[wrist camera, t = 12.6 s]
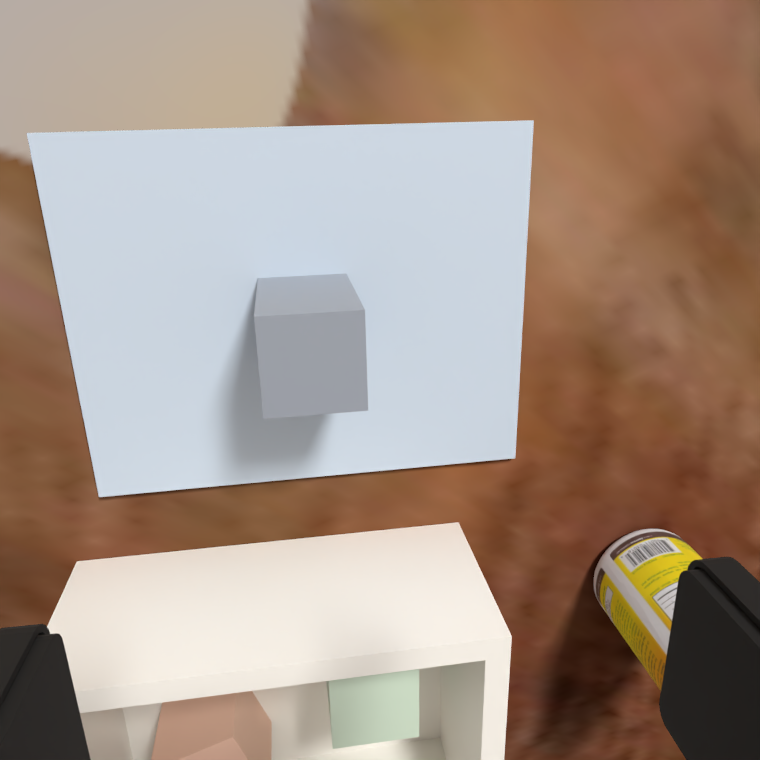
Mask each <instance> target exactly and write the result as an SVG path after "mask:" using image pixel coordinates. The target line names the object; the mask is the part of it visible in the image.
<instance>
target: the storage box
mask: <svg viewBox="0 0 760 760" xmlns="http://www.w3.org/2000/svg"><path fill="white" fill-rule="evenodd" d="M47 628H48V629H49V632H50V634H55V633H58V634H60V635H61V637H62V639H63V643H64V647H65V651H66V655H67V660H68V664H69V668H70V673H71V677H72V681H73V686H74V690H75V694H76V699H77V703H78V707H79V712H80V716H81V720H82V724H83V729H84V733H85V737H86V742H87V746H88V750H89V755H90V759H91V760H151V758H152V752H153V747H154V742H155V737H156V732H157V727H158V722H159V716H160V711H161V706H162V703H163V702H170V701H178V700H185V699H193V698H201V697H208V696H216V695H224V694H231V693H239V692H247V691H252V692H253V693H254V695H255V697H256V698H257V700H258V701H259V703H260V704H261V706H262V708H263V709H264V711H265V712H266V714H267V715H268V717H269V719H270V720H271V722H272V749H271V760H504V753H505V737H506V721H507V704H508V688H509V672H510V656H511V640H512V636H511V634H510V632H509V630H508V628H507V625H506V623H505V621H504V619H503V617H502V615H501V613H500V610H499V608H498V606H497V604H496V602H495V600H494V598H493V595H492V593H491V591H490V589H489V587H488V585H487V583H486V581H485V578H484V576H483V574H482V572H481V570H480V568H479V566H478V563H477V561H476V559H475V557H474V555H473V553H472V551H471V548H470V546H469V544H468V542H467V540H466V538H465V536H464V533H463V531H462V529H461V527H460V525H459V523H458V522H457V523H448V524H438V525H428V526H418V527H409V528H399V529H389V530H379V531H369V532H360V533H350V534H340V535H330V536H321V537H311V538H301V539H291V540H282V541H272V542H262V543H252V544H242V545H233V546H223V547H213V548H203V549H194V550H184V551H174V552H164V553H155V554H145V555H135V556H125V557H115V558H106V559H96V560H86V561H77V562H76V565H75V567H74V569H73V571H72V573H71V576H70V578H69V580H68V582H67V584H66V587H65V589H64V591H63V593H62V595H61V597H60V600H59V602H58V604H57V606H56V608H55V611H54V613H53V615H52V617H51V619H50V622H49V624H48V626H47ZM415 669H419V737H413V738H406V739H399V740H392V741H386V742H379V743H372V744H365V745H358V746H351V747H344V748H337V749H333V746H332V735H331V725H330V714H329V704H328V693H327V683H326V681H331V680H338V679H346V678H354V677H361V676H369V675H377V674H384V673H392V672H400V671H407V670H415Z"/></svg>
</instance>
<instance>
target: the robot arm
mask: <svg viewBox="0 0 760 760" xmlns="http://www.w3.org/2000/svg"><path fill="white" fill-rule="evenodd" d="M659 705H660V712H661V716H662V719H663V722H664V724H665V726H666V728H667V730H668V731H669V733H670V734H671V736H672V738H673V739H674V741H675V742H676V744H677V745H678V747H679V749H680V750H681V752H682V753H683V755H684V756H685V758H686V760H760V582H759V581H758V580H757V579H756V578H754V577H753V576H752V575H751V574H750V573H749V572H748V571H747V570H746V569H745V568H744V567H743V566H742V565H741V564H740V563H739V562H738V561H736V560H735V559H733V558H731V557H720V558H709V559H699V560H694V561H692V562H691V563H690V564H689V566H688V569H687V570H685V571H682V572H681V574H680V576H679V580H678V586H677V592H676V599H675V605H674V612H673V618H672V624H671V631H670V637H669V643H668V650H667V656H666V662H665V669H664V675H663V681H662V688H661V694H660V703H659ZM0 760H91V759H90V755H89V750H88V746H87V742H86V737H85V733H84V729H83V724H82V720H81V716H80V712H79V707H78V703H77V699H76V694H75V690H74V686H73V681H72V677H71V673H70V668H69V664H68V660H67V655H66V651H65V647H64V643H63V639H62V637H61V635H60V634H58V633H55V634H50V632H49V629H48V628H47V626H46V625H43V624H38V625H28V626H18V627H7V628H1V629H0Z"/></svg>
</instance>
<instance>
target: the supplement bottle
mask: <svg viewBox="0 0 760 760" xmlns="http://www.w3.org/2000/svg"><path fill="white" fill-rule="evenodd" d="M699 559H702V558H701V557H700V556H699V555H698V554H697V553H696V552H695V551H694V550H693V549H692V548H691V547H690V546H689V545H688V544H687V543H686V542H685V541H684V540H682V539H681V538H680V537H679V536H677V535H675V534H673V533H671V532H669V531H666V530H661V529H643V530H638V531H635V532H632V533H629V534H627V535H625V536H623V537H622V538H620V539H619V540H617V541H616V542H614V543H613V544H612V545H611V546H610V547H609V548H608V549H607V550H606V551H605V552H604V554H603V555H602V557H601V558H600V560H599V562H598V564H597V567H596V569H595V573H594V592H595V595H596V597H597V600H598V601H599V603H600V605H601V606H602V608H603V609H604V611H605V612H606V613H607V615H608V616H609V618H610V619H611V621H612V622H613V623H614V625H615V626H616V628H617V629H618V631H619V632H620V634H621V635H622V637H623V638H624V639H625V641H626V642H627V644H628V645H629V646H630V648H631V649H632V651H633V652H634V654H635V655H636V656H637V658H638V659H639V661H640V662H641V664H642V665H643V666H644V668H645V669H646V671H647V672H648V674H649V675H650V676H651V678H652V679H653V681H654V682H655V684H656V685H657V687H658V688H659V689H660V691H661V688H662V681H663V675H664V669H665V662H666V656H667V650H668V643H669V637H670V631H671V624H672V618H673V612H674V605H675V599H676V592H677V586H678V580H679V576H680V574H681V572H682V571H685V570H687V569H688V566H689V564H690V563H691V562H692V561H694V560H699Z"/></svg>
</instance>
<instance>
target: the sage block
mask: <svg viewBox="0 0 760 760" xmlns="http://www.w3.org/2000/svg"><path fill="white" fill-rule="evenodd" d="M326 683H327V693H328V704H329V714H330V725H331V735H332V746H333V749H337V748H344V747H351V746H358V745H365V744H372V743H379V742H386V741H392V740H399V739H406V738H413V737H419V669H415V670H407V671H400V672H392V673H384V674H377V675H369V676H361V677H354V678H346V679H338V680H331V681H326Z"/></svg>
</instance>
